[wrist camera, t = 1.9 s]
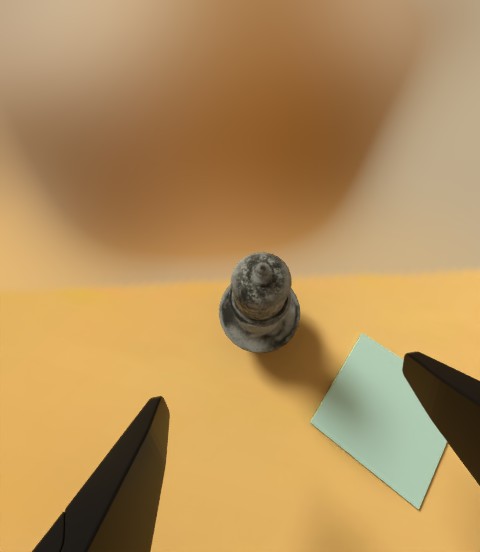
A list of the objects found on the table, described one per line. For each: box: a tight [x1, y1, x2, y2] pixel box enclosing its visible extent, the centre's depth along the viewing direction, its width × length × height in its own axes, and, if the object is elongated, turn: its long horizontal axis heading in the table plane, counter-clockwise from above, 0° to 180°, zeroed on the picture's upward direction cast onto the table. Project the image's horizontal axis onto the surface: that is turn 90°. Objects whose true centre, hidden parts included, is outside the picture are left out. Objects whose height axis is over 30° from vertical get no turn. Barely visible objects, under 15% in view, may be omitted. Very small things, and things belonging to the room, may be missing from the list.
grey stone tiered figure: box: [219, 252, 300, 353], centre depth 15 cm, size 6×6×12 cm
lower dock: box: [310, 333, 447, 510], centre depth 18 cm, size 8×8×1 cm
